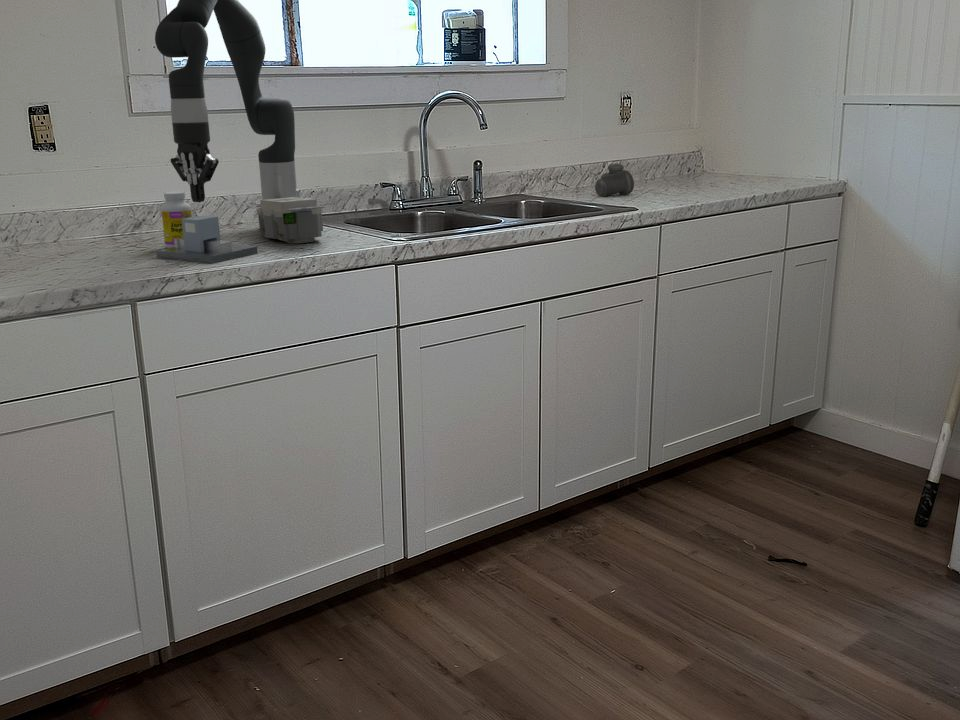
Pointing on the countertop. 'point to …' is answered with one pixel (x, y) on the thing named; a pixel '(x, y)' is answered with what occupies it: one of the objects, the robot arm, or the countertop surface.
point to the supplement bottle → (174, 216)
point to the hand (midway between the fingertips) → (198, 201)
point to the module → (199, 231)
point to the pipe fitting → (615, 181)
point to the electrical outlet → (290, 219)
